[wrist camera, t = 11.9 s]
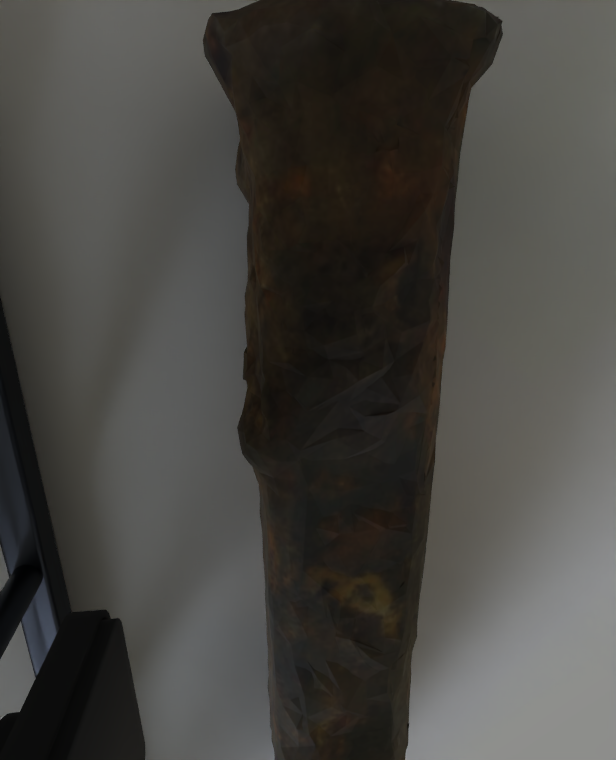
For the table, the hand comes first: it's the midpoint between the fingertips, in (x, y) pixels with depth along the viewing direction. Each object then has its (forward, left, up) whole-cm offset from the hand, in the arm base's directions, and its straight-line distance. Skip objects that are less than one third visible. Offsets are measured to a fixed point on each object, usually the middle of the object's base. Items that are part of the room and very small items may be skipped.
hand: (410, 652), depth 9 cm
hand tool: (0, 0, -4) cm, 4 cm away
